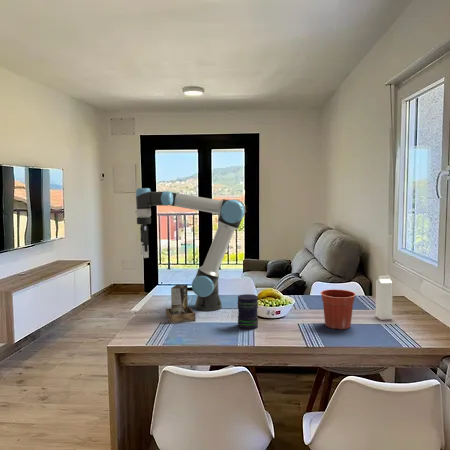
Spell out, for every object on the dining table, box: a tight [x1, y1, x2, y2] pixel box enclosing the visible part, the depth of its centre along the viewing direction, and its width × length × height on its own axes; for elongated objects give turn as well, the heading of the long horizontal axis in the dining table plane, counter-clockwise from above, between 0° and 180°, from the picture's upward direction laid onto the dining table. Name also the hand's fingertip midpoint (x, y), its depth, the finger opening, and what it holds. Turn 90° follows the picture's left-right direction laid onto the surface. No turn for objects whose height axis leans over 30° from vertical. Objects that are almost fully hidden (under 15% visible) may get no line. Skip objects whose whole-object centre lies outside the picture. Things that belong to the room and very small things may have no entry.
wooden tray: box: [165, 306, 196, 325], centre depth 218 cm, size 13×14×4 cm
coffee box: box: [170, 284, 189, 315], centre depth 218 cm, size 9×6×16 cm
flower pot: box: [320, 288, 357, 330], centre depth 203 cm, size 16×16×16 cm
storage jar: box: [237, 293, 259, 331], centre depth 203 cm, size 10×10×15 cm
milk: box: [375, 274, 393, 321], centre depth 214 cm, size 6×6×22 cm
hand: (144, 255), depth 227 cm, fingers open, 13 cm apart
